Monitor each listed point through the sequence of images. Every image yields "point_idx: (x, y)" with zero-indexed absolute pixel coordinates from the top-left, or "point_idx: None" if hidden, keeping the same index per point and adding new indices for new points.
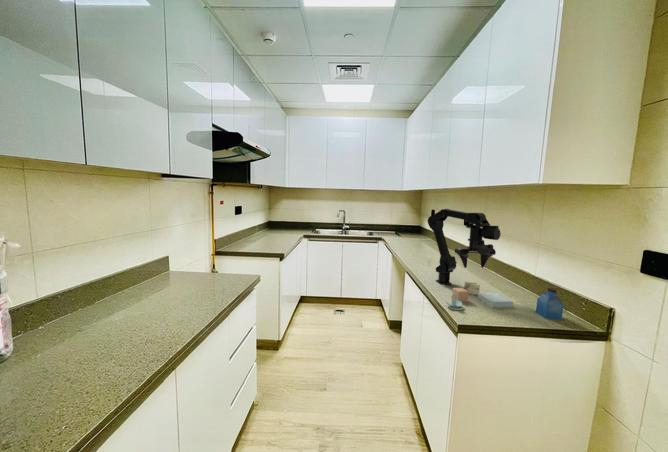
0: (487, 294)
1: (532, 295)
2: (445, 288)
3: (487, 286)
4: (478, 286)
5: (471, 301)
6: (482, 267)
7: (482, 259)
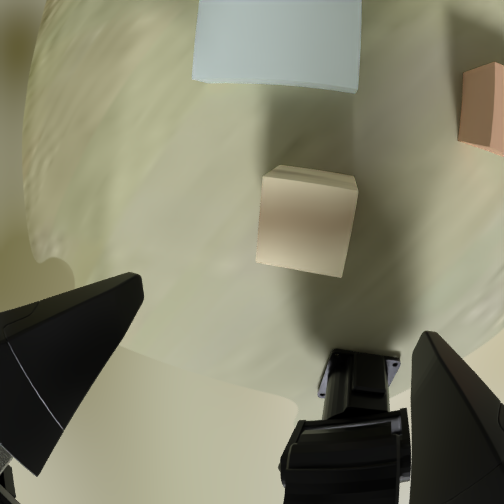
0: (291, 59)
1: (29, 137)
2: (431, 302)
3: (133, 272)
4: (277, 175)
5: (437, 65)
6: (138, 279)
7: (60, 377)
